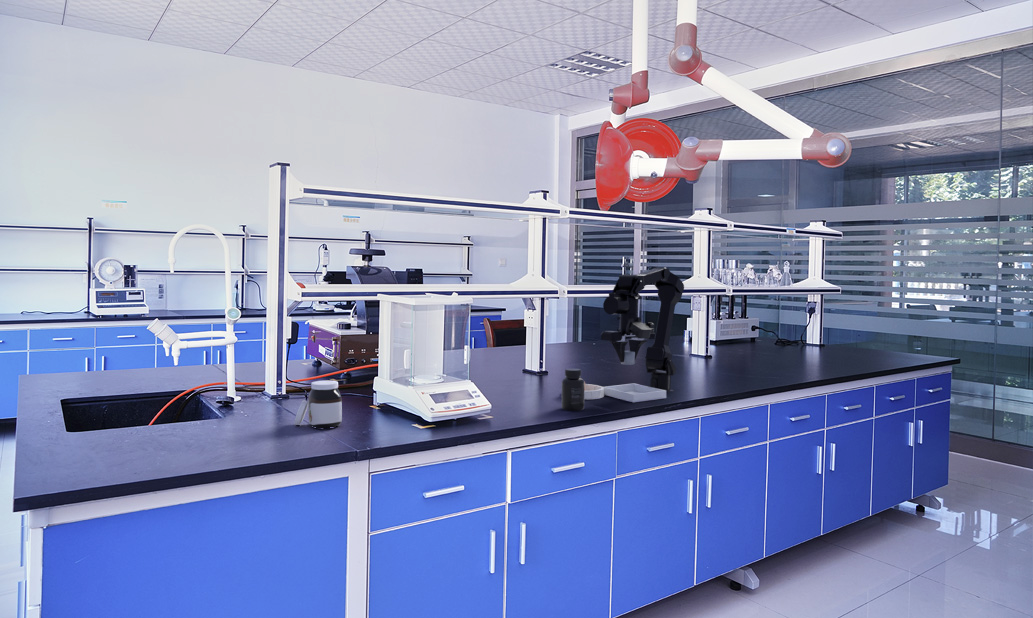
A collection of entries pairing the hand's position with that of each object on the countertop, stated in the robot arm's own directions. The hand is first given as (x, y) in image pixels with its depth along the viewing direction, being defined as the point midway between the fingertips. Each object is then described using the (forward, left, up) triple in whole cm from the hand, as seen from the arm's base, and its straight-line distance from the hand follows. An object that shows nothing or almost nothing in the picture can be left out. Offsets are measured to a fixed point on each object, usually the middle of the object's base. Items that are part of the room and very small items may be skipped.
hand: (627, 361), depth 214 cm
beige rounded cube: (+10, -13, -12) cm, 20 cm away
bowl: (+10, -10, -12) cm, 19 cm away
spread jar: (+96, -13, -13) cm, 98 cm away
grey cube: (0, 0, -1) cm, 1 cm away
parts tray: (-4, -1, -12) cm, 13 cm away
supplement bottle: (+24, +3, -13) cm, 27 cm away
